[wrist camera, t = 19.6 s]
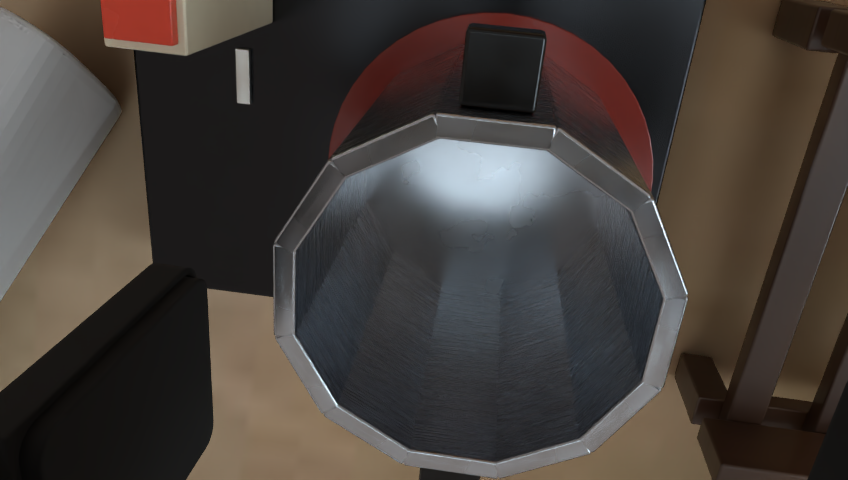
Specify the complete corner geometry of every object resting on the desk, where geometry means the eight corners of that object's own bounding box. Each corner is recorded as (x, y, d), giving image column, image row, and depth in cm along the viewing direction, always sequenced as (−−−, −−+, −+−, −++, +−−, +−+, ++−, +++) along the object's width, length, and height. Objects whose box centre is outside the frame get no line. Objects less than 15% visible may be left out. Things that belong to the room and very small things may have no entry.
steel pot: (657, 8, 16) (755, 61, 9) (584, 347, 20) (619, 547, 13) (364, -21, 16) (269, 11, 10) (349, 316, 20) (274, 494, 14)
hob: (732, -227, 16) (770, -254, 14) (612, 302, 22) (624, 347, 20) (108, -273, 17) (42, -306, 15) (153, 243, 23) (112, 280, 21)
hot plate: (687, 30, 16) (689, 31, 16) (615, 334, 20) (617, 340, 19) (334, -6, 17) (331, -5, 16) (326, 296, 20) (324, 301, 20)
